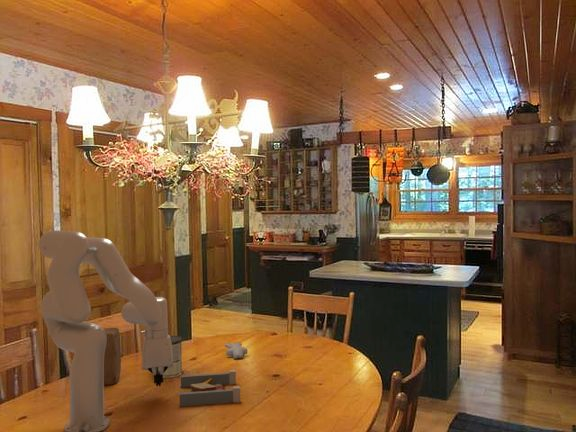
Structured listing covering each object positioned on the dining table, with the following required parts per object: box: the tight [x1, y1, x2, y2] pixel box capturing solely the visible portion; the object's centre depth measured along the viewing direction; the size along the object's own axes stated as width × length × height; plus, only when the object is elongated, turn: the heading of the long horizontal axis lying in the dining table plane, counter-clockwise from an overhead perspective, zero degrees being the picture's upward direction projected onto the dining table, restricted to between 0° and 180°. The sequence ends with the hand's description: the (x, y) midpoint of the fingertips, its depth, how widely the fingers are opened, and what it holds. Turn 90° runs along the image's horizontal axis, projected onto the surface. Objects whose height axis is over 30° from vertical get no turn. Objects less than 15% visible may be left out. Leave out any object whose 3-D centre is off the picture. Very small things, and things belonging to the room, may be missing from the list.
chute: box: [179, 369, 241, 407], centre depth 177 cm, size 19×20×5 cm
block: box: [103, 327, 122, 386], centre depth 191 cm, size 11×8×20 cm
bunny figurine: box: [224, 341, 248, 360], centre depth 224 cm, size 10×5×15 cm
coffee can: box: [156, 335, 183, 379], centre depth 199 cm, size 10×10×14 cm
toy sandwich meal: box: [189, 378, 227, 392], centre depth 177 cm, size 12×14×5 cm
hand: (158, 384), depth 174 cm, fingers closed
